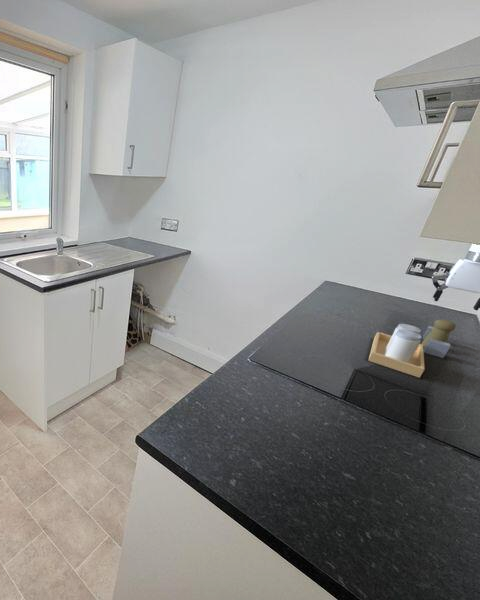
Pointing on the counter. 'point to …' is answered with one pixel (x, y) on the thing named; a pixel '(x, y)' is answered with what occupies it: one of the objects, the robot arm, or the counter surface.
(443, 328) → the cork
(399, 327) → the cylinder
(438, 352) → the grey slab front
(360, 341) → the counter surface
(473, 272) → the robot arm
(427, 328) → the grey slab back
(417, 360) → the shaker tray
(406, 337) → the salt shaker
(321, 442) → the counter surface
